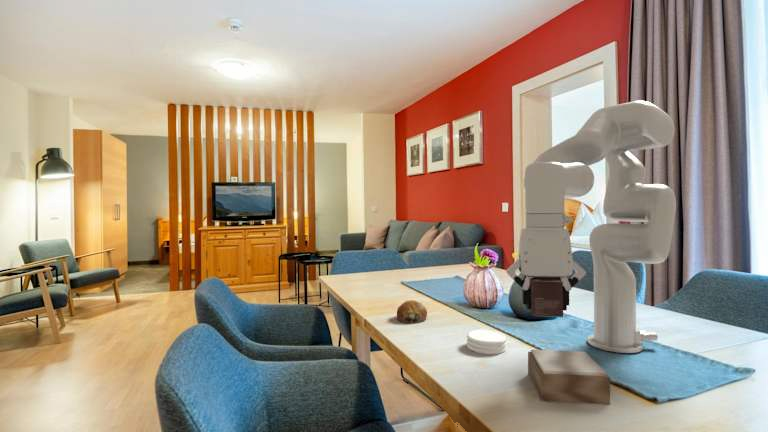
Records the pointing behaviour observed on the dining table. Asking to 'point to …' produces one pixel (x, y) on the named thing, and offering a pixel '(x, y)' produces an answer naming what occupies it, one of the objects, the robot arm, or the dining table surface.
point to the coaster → (486, 342)
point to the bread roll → (411, 312)
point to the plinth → (568, 377)
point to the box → (546, 297)
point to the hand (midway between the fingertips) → (545, 307)
